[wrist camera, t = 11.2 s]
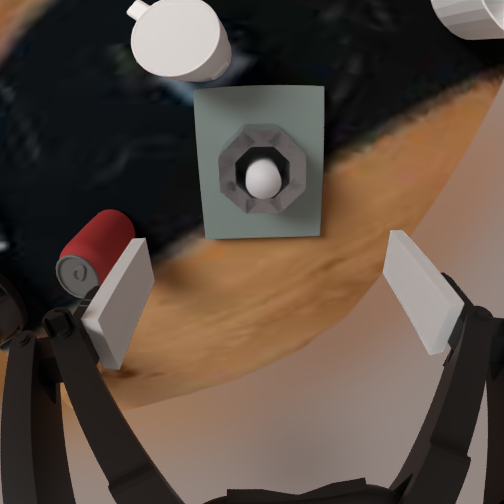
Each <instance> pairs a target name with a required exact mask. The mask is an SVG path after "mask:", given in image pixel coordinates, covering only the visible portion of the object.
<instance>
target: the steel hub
mask: <svg viewBox="0 0 504 504" xmlns="http://www.w3.org/2000/svg"><path fill="white" fill-rule="evenodd" d="M250 147H275V148H276V149H277V150H278V151H279V152H280V153H281V154H282V155H283V156H284V168H283V169H282V170H281V171H280V172H279V174H280V177H281V187H280V189H279V191H278V193H277V194H276V195H274V196H273V197H271V198H268V199H259V198H256V197H254V196H253V195H251V194H250V193H249V191H248V190H247V187H246V176H245V175H244V174H243V173H242V172H241V171H240V170H239V169H238V159H239V158H240V157H241V156H242V155H243V154H244V153H245V152H246V151H247V150H248V149H249V148H250ZM218 166H219V182H220V192H221V193H222V194H224V195H225V196H226V197H227V198H228V199H229V200H231V201H232V202H233V203H234V204H235V205H236V206H238V207H239V208H240V209H241V210H242V211H243V212H245V213H246V214H259V213H281V212H282V211H283V210H284V209H285V208H286V207H287V206H289V205H290V204H291V203H292V202H293V201H294V200H295V199H296V198H297V197H298V196H299V195H300V194H301V193H302V192H303V191H305V187H306V155H305V153H304V152H303V151H302V150H301V149H300V147H299V146H298V145H297V144H296V143H295V142H294V141H293V140H292V139H291V138H290V137H289V136H288V135H287V134H286V133H285V132H284V131H283V130H282V129H280V128H279V127H278V126H277V125H276V124H244V125H243V126H242V127H241V128H240V130H239V131H238V132H237V133H236V134H235V135H234V136H233V137H232V138H231V139H230V140H229V141H228V142H227V143H226V144H225V145H224V146H223V148H222V150H221V152H220V154H219V156H218Z"/></svg>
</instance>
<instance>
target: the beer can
mask: <svg viewBox="0 0 504 504" xmlns="http://www.w3.org/2000/svg"><path fill="white" fill-rule="evenodd" d="M132 239H135V230H134V226H133V224H132V222H131V221H130V219H129V218H128V217H127V216H126V215H125V214H123V213H121V212H120V211H117V210H112V209H110V210H104V211H102V212H100V213H98V214H97V215H96V216H95V217H94V218H93V219H92V220H91V221H90V222H89V223H88V224H87V225H86V226H85V227H84V228H83V229H82V230H81V231H80V232H79V233H78V234H77V235H76V236H75V237H74V238H73V239H72V240H71V241H70V242H69V243H68V244H67V245H66V246H65V248H64V249H63V251H62V253H61V255H60V259H59V261H58V262H57V265H56V274H57V277H58V280H59V282H60V284H61V285H62V286H63V288H64V289H65V290H66V291H67V292H69V293H70V294H72V295H73V296H75V297H78V298H82V299H83V298H84V297H85V295H86V294H87V292H88V291H90V290H91V289H92V288H93V287H94V286H101V285H102V284H103V282H104V281H105V279H106V278H107V276H108V274H109V273H110V271H111V270H112V268H113V267H114V265H115V264H116V262H117V261H118V259H119V258H120V256H121V255H122V253H123V252H124V250H125V249H126V247H127V246H128V245H129V243H130V242H131V240H132Z"/></svg>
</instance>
